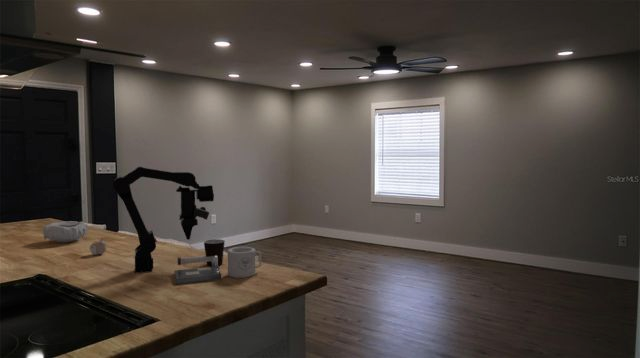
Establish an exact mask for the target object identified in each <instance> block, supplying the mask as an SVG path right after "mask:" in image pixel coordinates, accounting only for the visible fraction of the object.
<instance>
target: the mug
mask: <svg viewBox="0 0 640 358" xmlns="http://www.w3.org/2000/svg"><path fill="white" fill-rule="evenodd" d="M226 254H227V275H228V276H229V277H231V278H233V279H243V278H244V279H245V278H250V277H253V276H254V275H255V274H256V269H258V268H260V267H261V266H262V252H261V251H259V250H256V248H254V247H250V246H235V247H232V248H229V249H228V250H227V252H226ZM256 254H259V265H256Z"/></svg>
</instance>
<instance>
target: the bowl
mask: <svg viewBox="0 0 640 358" xmlns="http://www.w3.org/2000/svg"><path fill="white" fill-rule="evenodd" d="M42 232H43V239H44V241H45V240H47V239H48V240H50V241H53V242H56V243H69V242H70V243H71V242H73V241H77V240H79V239H81V238H83V237H86V236H87V235H88V224H86V223H85V222H84V221H79V222H78V221H72V220H69V221H68V220H66V221H60V222H55V221H54V222H51V223H49V224H47V225H44V226H43V231H42Z"/></svg>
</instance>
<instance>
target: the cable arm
mask: <svg viewBox="0 0 640 358" xmlns="http://www.w3.org/2000/svg"><path fill="white" fill-rule="evenodd" d="M209 261H212V266H211V267H215V266H216V267H217V268H218V267H219V266H218V256H217V255H214V256H206V255H205V256H194V257H193V256H192V257H177V266H181V265H184V264H196V263H197V264H198V263H207V262H209Z"/></svg>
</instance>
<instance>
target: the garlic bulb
mask: <svg viewBox="0 0 640 358" xmlns="http://www.w3.org/2000/svg"><path fill="white" fill-rule="evenodd" d="M103 240H104V238H101V239H100V240H97V241H95V242H93V243H92V244H91V245H90V247H89V251H90V253H91V254H92V255H95V256H99V255H103V254H104V253H105V252H106V251H107V245H106V244H107V243H106V242H105V241H103Z"/></svg>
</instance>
